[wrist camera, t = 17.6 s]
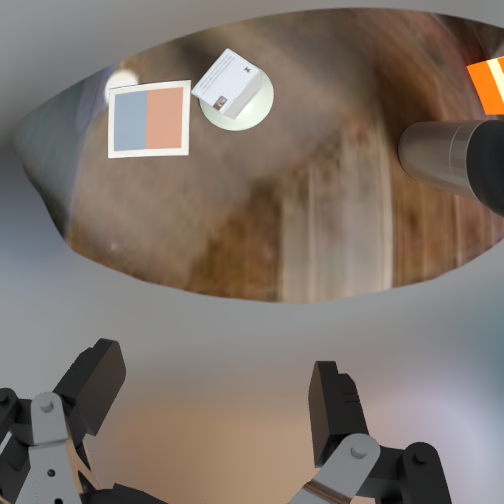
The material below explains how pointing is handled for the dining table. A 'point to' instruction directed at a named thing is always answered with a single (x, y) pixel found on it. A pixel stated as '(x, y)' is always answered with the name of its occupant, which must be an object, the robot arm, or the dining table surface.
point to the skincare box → (229, 84)
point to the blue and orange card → (149, 120)
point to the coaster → (251, 112)
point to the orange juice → (489, 84)
